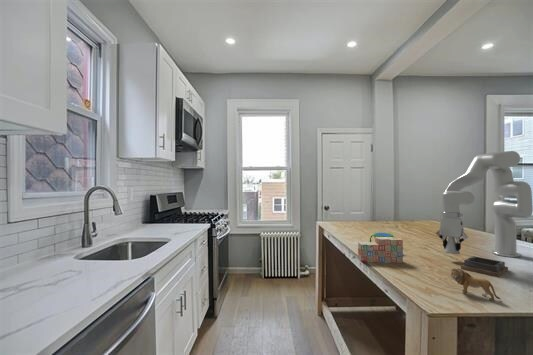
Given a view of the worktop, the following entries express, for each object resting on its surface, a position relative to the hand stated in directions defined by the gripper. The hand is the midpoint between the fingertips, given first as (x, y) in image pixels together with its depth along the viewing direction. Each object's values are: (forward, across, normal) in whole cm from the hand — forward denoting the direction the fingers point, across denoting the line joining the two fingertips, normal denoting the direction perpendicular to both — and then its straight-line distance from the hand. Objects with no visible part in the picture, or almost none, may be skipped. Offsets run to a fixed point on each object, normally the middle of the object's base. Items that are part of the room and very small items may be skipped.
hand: (451, 248), depth 146 cm
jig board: (+7, -15, +3) cm, 16 cm away
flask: (+2, 0, 0) cm, 2 cm away
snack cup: (+6, +33, +10) cm, 35 cm away
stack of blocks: (+6, +23, +30) cm, 39 cm away
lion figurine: (+6, -22, +43) cm, 49 cm away
